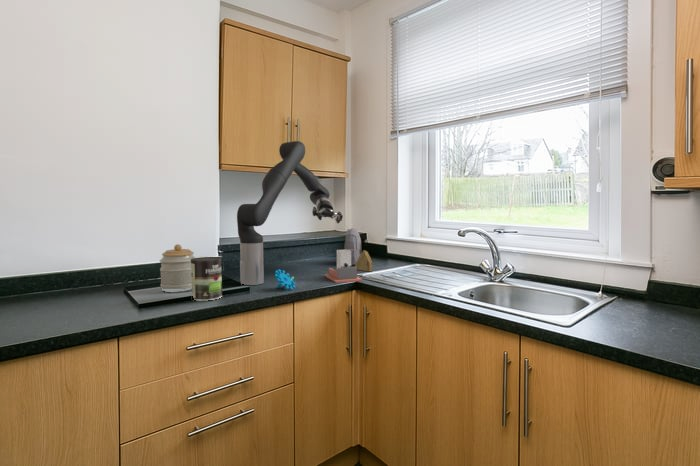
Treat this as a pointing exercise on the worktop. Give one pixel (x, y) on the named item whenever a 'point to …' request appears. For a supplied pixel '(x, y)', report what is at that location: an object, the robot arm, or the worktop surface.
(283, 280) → the gear
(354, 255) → the small grey backpack
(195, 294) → the coffee can
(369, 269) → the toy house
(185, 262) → the jar
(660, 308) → the worktop surface
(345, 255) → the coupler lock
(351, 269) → the coupler cradle
